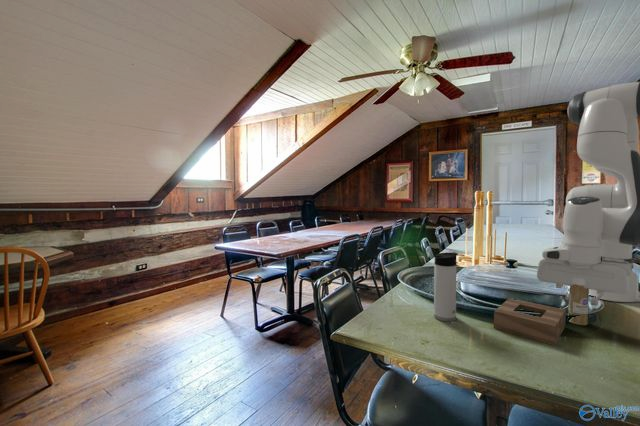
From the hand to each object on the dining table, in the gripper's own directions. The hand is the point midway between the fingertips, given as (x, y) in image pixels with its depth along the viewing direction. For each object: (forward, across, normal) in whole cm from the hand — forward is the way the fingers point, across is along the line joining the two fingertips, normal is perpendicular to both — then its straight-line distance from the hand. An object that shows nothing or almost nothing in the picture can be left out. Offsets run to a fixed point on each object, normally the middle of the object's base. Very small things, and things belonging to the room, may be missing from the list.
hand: (578, 301), depth 91 cm
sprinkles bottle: (+6, 0, 0) cm, 6 cm away
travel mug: (+6, +29, +22) cm, 37 cm away
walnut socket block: (+6, +9, +13) cm, 17 cm away
